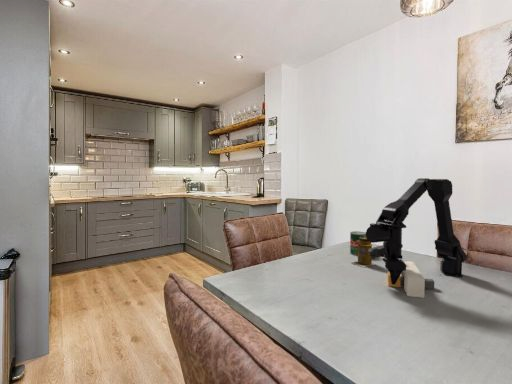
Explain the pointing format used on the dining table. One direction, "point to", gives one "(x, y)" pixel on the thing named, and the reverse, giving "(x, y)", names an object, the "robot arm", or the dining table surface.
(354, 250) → the canned tomato
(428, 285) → the orange grey square bar
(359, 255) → the condiment
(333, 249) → the dining table surface
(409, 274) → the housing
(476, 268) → the dining table surface
